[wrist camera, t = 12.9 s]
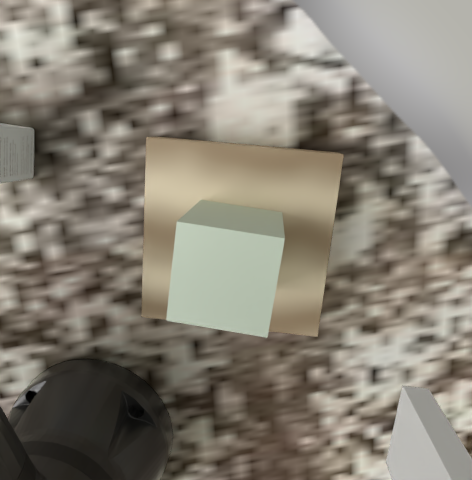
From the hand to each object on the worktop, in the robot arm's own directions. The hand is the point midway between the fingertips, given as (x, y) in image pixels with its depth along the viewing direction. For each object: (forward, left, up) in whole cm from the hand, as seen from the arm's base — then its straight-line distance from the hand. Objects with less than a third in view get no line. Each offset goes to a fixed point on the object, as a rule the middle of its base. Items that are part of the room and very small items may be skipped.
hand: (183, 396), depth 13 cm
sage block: (0, 0, -19) cm, 19 cm away
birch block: (0, 0, -23) cm, 23 cm away
